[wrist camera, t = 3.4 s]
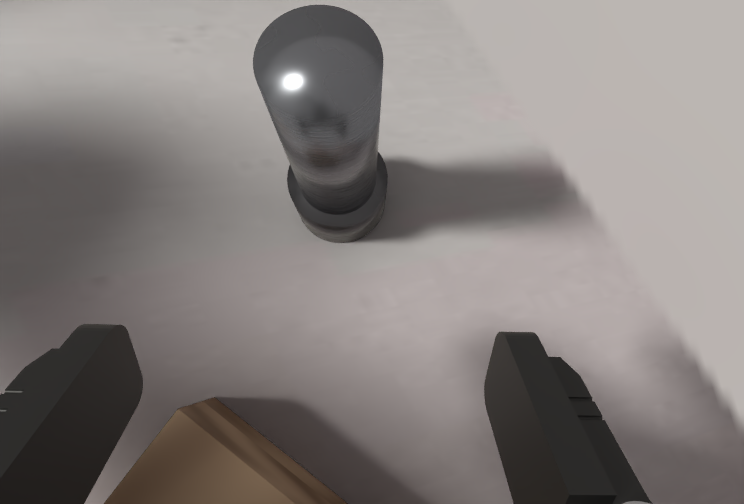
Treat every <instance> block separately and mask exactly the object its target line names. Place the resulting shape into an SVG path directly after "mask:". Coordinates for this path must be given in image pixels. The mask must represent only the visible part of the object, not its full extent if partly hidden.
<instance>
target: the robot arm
mask: <svg viewBox="0 0 744 504" xmlns="http://www.w3.org/2000/svg"><path fill="white" fill-rule="evenodd" d="M142 388H143V378H142V374H141V370H140V367H139V364H138V361H137V358H136V355H135V352H134V349H133V346H132V343H131V340H130V337H129V334H128V331H127V329H126V328H125V327H124V326H122V325H100V324H84V325H81V326H79V327H78V328H77V329H76V330H75V331H74V332H73V333H72V334H71V335H70V337H69V338H68V339H67V340H66V341H65V342H64V344H63V345H62V346H61V347H60V348H59V349H51V350H50V351H48V352H47V353H45V354H44V355H42V356H41V357H39V358H38V359H37V360H35V361H34V362H32V363H31V364H29V365H28V366H26V367H25V368H24V369H23V370H22V371H21V372H20V374H19V375H18V376H17V377H16V378H15V379H14V380H13V381H12V382H11V384H10V385H9V386H8V387H7V388H6V389H5V393H4V394H1V395H0V504H84V503H85V501H86V499H87V497H88V495H89V494H90V492H91V490H92V488H93V486H94V484H95V483H96V481H97V479H98V477H99V475H100V473H101V472H102V470H103V468H104V466H105V464H106V462H107V461H108V459H109V457H110V455H111V453H112V451H113V450H114V448H115V446H116V444H117V442H118V440H119V439H120V437H121V435H122V433H123V431H124V429H125V428H126V426H127V424H128V422H129V420H130V419H131V417H132V415H133V413H134V411H135V409H136V408H137V406H138V404H139V401H140V398H141V394H142ZM484 396H485V404H486V409H487V413H488V416H489V420H490V423H491V427H492V430H493V433H494V437H495V440H496V444H497V447H498V451H499V454H500V458H501V461H502V465H503V468H504V471H505V475H506V478H507V482H508V485H509V489H510V492H511V496H512V499H513V503H514V504H652V502H651V501H650V500H649V498H648V497H647V495H646V493H645V492H644V490H643V488H642V486H641V485H640V483H639V481H638V479H637V477H636V476H635V474H634V472H633V470H632V468H631V467H630V465H629V463H628V461H627V459H626V458H625V456H624V454H623V452H622V450H621V449H620V447H619V445H618V443H617V442H616V440H615V438H614V436H613V434H612V433H611V431H610V429H609V427H608V425H607V424H606V422H605V420H602V415H601V413H600V411H599V409H598V407H597V406H596V404H595V402H592V397H591V395H590V393H589V391H588V389H587V388H586V386H585V384H584V382H583V380H582V379H581V377H580V375H579V374H578V373H576V372H575V371H574V370H573V369H572V368H571V367H570V366H569V365H568V364H567V363H566V362H565V361H564V360H563V359H562V358H560V357H548V356H547V354H546V352H545V350H544V348H543V346H542V344H541V342H540V340H539V338H538V336H537V335H536V334H535V333H533V332H499V333H498V334H497V336H496V338H495V342H494V346H493V350H492V354H491V358H490V362H489V366H488V371H487V375H486V379H485V386H484Z"/></svg>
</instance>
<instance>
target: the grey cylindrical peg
mask: <svg viewBox="0 0 744 504" xmlns="http://www.w3.org/2000/svg"><path fill="white" fill-rule="evenodd" d="M253 69H254V74H255V78H256V81H257V84H258V86H259V89H260V91H261V94H262V96H263V98H264V101H265V103H266V106H267V108H268V111H269V113H270V116H271V118H272V121H273V123H274V126H275V128H276V131H277V133H278V136H279V138H280V141H281V143H282V145H283V148H284V150H285V153H286V155H287V158H288V160H289V163H290V166H289V170H288V177H287V182H288V189H289V193H290V196H291V198H292V200H293V202H294V204H295V207H296V209H297V211H298V213H299V215H300V217H301V219H302V221H303V223H304V224H305V225H306V227H307V228H308V229H309V230H310V231H311V232H312V233H313V234H315V235H316V236H318V237H319V238H321V239H324V240H326V241H330V242H335V243H345V242H351V241H355V240H358V239H360V238H362V237H364V236H365V235H367V234H368V233H369V232H371V231H372V230H373V229H374V227H375V226H376V225H377V224H378V222H379V220H380V218H381V216H382V213H383V210H384V203H385V196H386V188H387V170H386V166H385V163H384V161H383V159H382V157H381V155H380V154H379V152H378V139H379V123H380V107H381V91H382V75H383V52H382V48H381V44H380V42H379V40H378V38H377V36H376V34H375V33H374V31H373V30H372V29H371V27H370V26H369V25H368V24H367V23H366V22H365V21H364V20H362V19H361V18H360V17H358V16H357V15H355V14H353V13H351V12H350V11H347V10H345V9H342V8H338V7H335V6H329V5H309V6H304V7H300V8H297V9H293V10H291V11H289V12H287V13H285V14H283V15H281V16H280V17H278V18H277V19H276V20H274V21H273V22H272V23H271V24H270V25H269V26H268V27H267V28H266V29H265V31H264V32H263V33H262V35H261V37H260V38H259V40H258V42H257V45H256V48H255V51H254V57H253Z"/></svg>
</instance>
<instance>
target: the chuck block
mask: <svg viewBox="0 0 744 504" xmlns="http://www.w3.org/2000/svg"><path fill="white" fill-rule="evenodd" d="M104 504H348V503H346V502H345V501H344V500H343V499H341V498H340V497H339V496H338V495H336V494H335V493H334V492H333V491H331V490H330V489H329V488H328V487H326V486H325V485H324V484H323V483H321V482H320V481H319V480H318V479H316V478H315V477H314V476H313V475H311V474H310V473H309V472H308V471H306V470H305V469H304V468H303V467H301V466H300V465H299V464H298V463H296V462H295V461H294V460H292V459H291V458H290V457H289V456H287V455H286V454H285V453H284V452H282V451H281V450H280V449H279V448H277V447H276V446H275V445H274V444H272V443H271V442H270V441H269V440H267V439H266V438H265V437H264V436H262V435H261V434H260V433H259V432H257V431H256V430H255V429H254V428H252V427H251V426H250V425H249V424H247V423H246V422H245V421H244V420H242V419H241V418H240V417H239V416H237V415H236V414H235V413H234V412H232V411H231V410H230V409H229V408H227V407H226V406H225V405H224V404H222V403H221V402H220V401H219V400H217V399H216V398H215V397H214V398H211V399H208V400H204V401H201V402H198V403H195V404H192V405H188V406H185V407H182V408H179V409H177V411H176V412H175V413H174V415H173V416H172V417H171V418H170V420H169V421H168V422H167V423H166V425H165V426H164V427H163V429H162V430H161V431H160V432H159V434H158V435H157V436H156V438H155V439H154V440H153V441H152V443H151V444H150V445H149V447H148V448H147V449H146V450H145V452H144V453H143V454H142V455H141V457H140V458H139V459H138V461H137V462H136V463H135V464H134V466H133V467H132V468H131V470H130V471H129V472H128V473H127V475H126V476H125V477H124V479H123V480H122V481H121V482H120V484H119V485H118V486H117V487H116V489H115V490H114V491H113V493H112V494H111V495H110V496H109V498H108V499H107V500H106V502H105V503H104Z"/></svg>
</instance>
